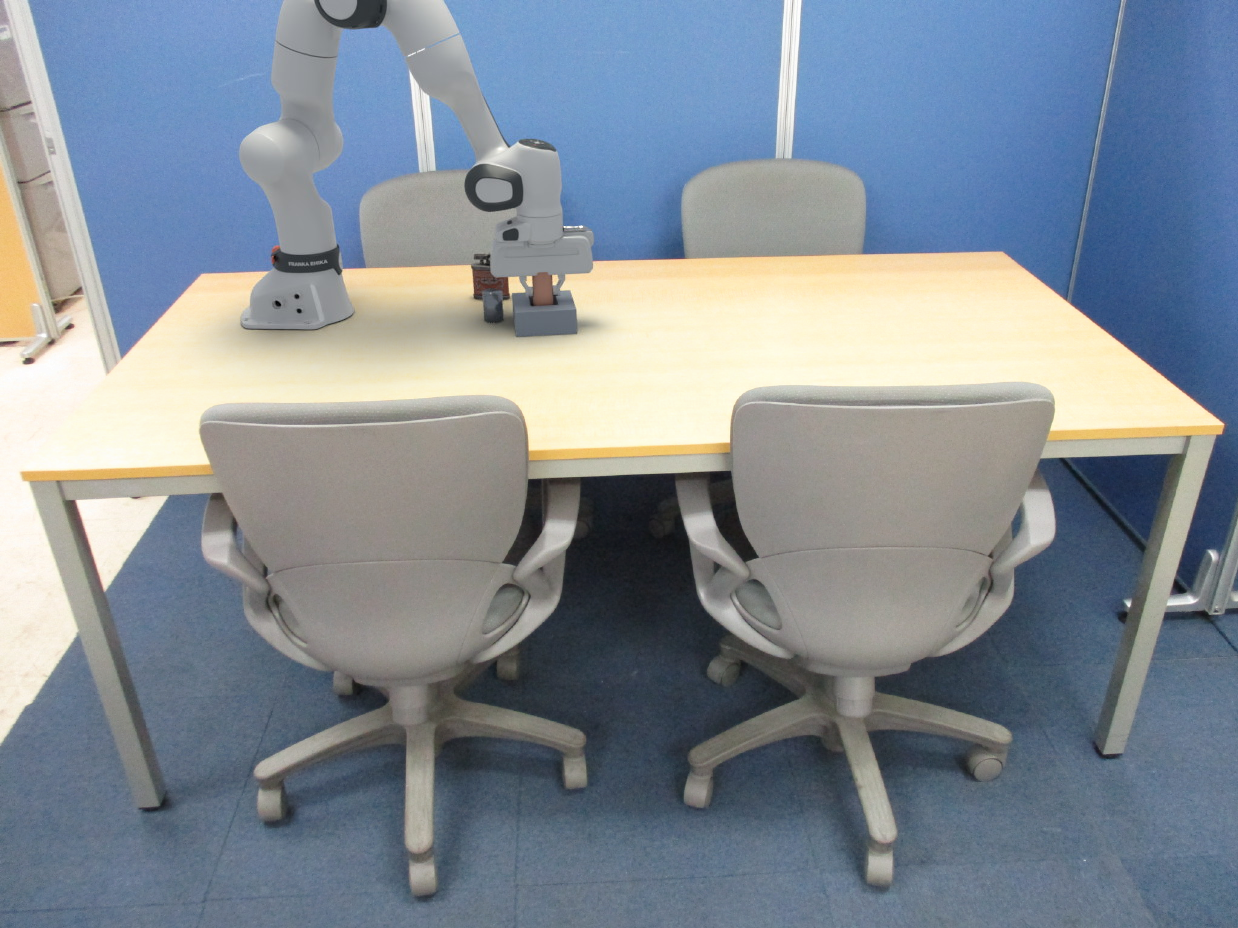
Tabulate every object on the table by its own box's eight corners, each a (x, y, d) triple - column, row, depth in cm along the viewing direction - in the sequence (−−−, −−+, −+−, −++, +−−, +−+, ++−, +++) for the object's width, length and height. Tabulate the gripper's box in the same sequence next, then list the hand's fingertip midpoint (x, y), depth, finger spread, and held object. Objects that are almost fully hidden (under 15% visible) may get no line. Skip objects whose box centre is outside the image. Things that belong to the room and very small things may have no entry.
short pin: (484, 323, 201) (482, 295, 198) (484, 317, 204) (482, 289, 202) (504, 322, 201) (502, 294, 199) (503, 316, 205) (501, 288, 202)
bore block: (516, 337, 194) (515, 312, 192) (513, 316, 205) (511, 293, 202) (577, 333, 196) (576, 309, 193) (570, 313, 206) (570, 290, 204)
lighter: (511, 296, 216) (509, 251, 211) (508, 301, 213) (505, 255, 208) (475, 295, 217) (472, 250, 212) (471, 300, 214) (468, 254, 209)
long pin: (534, 326, 198) (532, 273, 193) (533, 319, 201) (531, 267, 196) (554, 325, 198) (552, 272, 193) (553, 318, 202) (551, 266, 197)
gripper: (591, 221, 195) (592, 288, 201) (487, 225, 192) (491, 293, 199) (595, 229, 189) (596, 298, 196) (488, 233, 187) (492, 303, 193)
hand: (542, 296), depth 197 cm, fingers closed on long pin, 4 cm apart
